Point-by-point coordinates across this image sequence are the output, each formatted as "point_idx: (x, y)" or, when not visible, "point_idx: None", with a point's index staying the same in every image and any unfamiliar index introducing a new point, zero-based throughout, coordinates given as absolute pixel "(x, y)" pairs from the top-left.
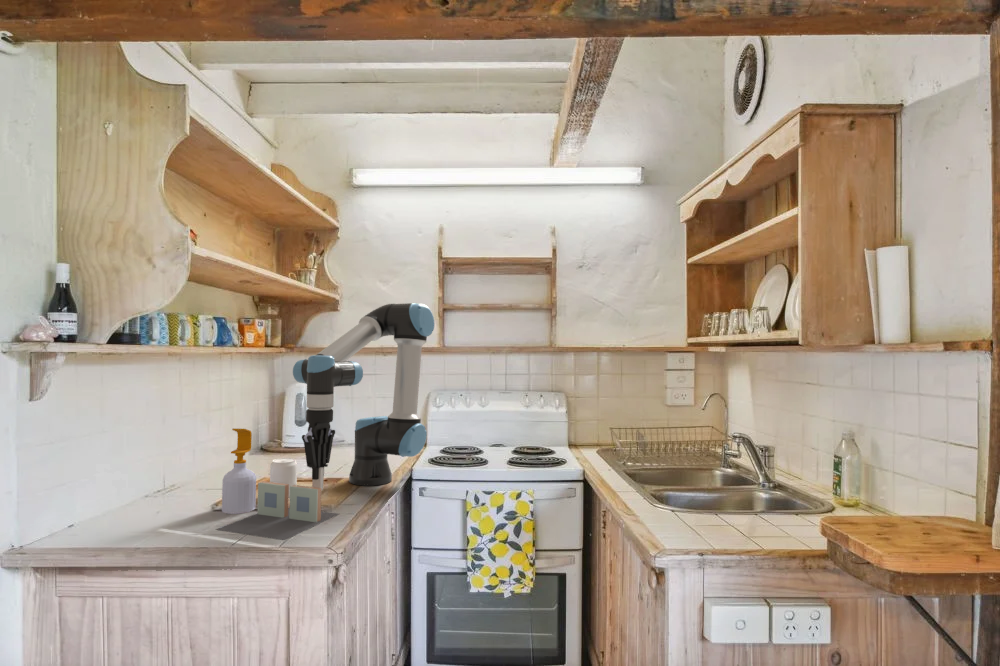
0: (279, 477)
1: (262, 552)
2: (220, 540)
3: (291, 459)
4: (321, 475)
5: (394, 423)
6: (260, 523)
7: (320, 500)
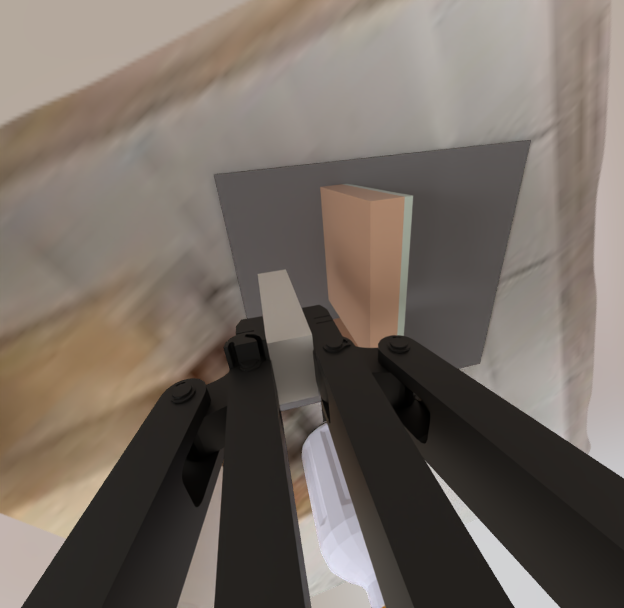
0: (210, 532)
1: (597, 138)
2: (522, 305)
3: None
4: (288, 308)
5: None
6: (416, 323)
7: (350, 193)
